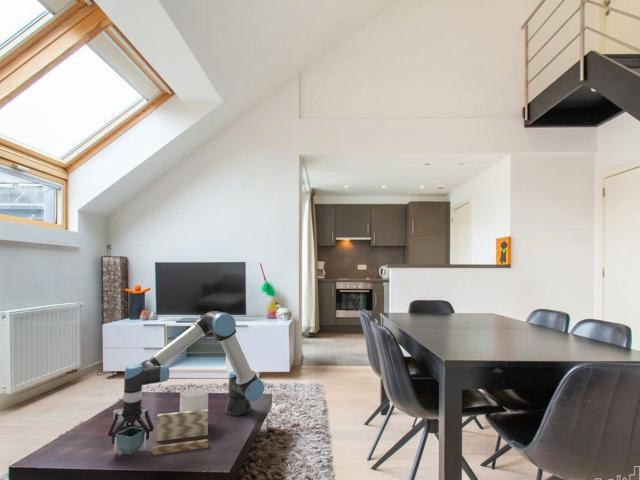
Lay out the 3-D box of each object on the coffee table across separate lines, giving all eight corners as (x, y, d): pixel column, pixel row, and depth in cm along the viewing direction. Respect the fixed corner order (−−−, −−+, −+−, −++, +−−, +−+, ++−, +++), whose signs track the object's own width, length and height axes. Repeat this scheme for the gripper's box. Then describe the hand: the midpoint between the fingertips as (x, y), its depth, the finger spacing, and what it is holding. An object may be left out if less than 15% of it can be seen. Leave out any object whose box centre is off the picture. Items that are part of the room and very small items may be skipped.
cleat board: (207, 433, 193) (208, 409, 194) (208, 447, 178) (208, 421, 179) (156, 439, 186) (157, 414, 187) (152, 454, 171) (153, 427, 172)
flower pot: (145, 449, 176) (146, 429, 177) (130, 458, 168) (131, 437, 169) (130, 446, 179) (131, 426, 180) (115, 454, 171) (116, 434, 172)
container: (174, 427, 201) (175, 392, 203) (198, 419, 212) (199, 386, 213) (187, 435, 192) (188, 398, 193) (212, 426, 202) (213, 391, 203)
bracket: (115, 430, 199) (145, 423, 201) (112, 412, 199) (141, 404, 202) (118, 427, 203) (147, 420, 205) (115, 409, 203) (144, 402, 206)
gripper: (161, 395, 182) (159, 441, 181) (105, 399, 175) (103, 448, 174) (159, 400, 175) (157, 449, 174) (101, 405, 168) (99, 456, 167)
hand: (130, 448), depth 174 cm, fingers closed on flower pot, 11 cm apart
